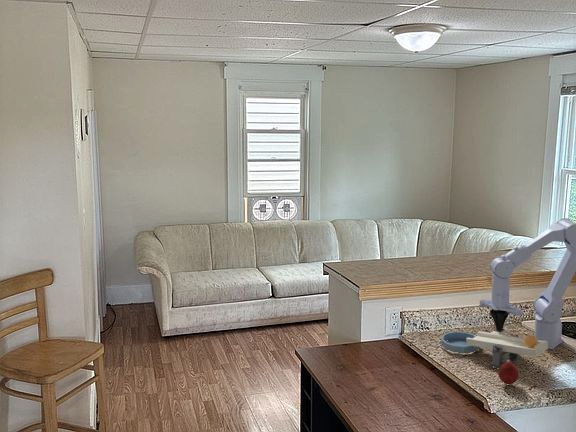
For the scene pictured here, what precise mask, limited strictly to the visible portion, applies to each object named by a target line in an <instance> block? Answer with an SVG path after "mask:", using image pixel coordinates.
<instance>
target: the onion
mask: <svg viewBox="0 0 576 432" xmlns="http://www.w3.org/2000/svg"><path fill="white" fill-rule="evenodd" d="M497 371H498V372H497V374H498V379H500V381H501V382H502V383H503V382H504V384H505V383H506V384H510V385H513V384H514V383H516V382H518V380H519V377H520V375H519V374H520V373H519V370H518V368H517V366H516V365H515V364H513V363H511V361H510V360H507V362H506V363H505V364H503V365H501V367H500V368H499V370H498V369H497ZM506 384H505V385H506Z"/></svg>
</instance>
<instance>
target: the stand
mask: <svg viewBox="0 0 576 432" xmlns="http://www.w3.org/2000/svg"><path fill="white" fill-rule="evenodd" d="M509 336H514V337H519V335H518V334H510V335H509ZM491 351H492V361H491V363H489V367H490V366H494V367H496V368H500V367H501V365H503V364H505V363H506V362H507V360H510V361H511V363H512V364H513V363H515V362H517V360H519V359H520V358H521V356H522V354H516V353H511V352H506V353H505V354H503V355H502V352H503V351H502V347H499V346H496V345H494V346H493V349H491Z"/></svg>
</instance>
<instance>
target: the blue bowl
mask: <svg viewBox="0 0 576 432" xmlns="http://www.w3.org/2000/svg"><path fill="white" fill-rule="evenodd" d="M476 336H477V335H475V334H473V333H469V332H466V331H456V330H455V331H449V332H448V331H447V332H446V333H444V334H442V335H441V339H440V342H441V343H440V344H441V345H442V346H443V347H444V348H445V349H447V350H450V351H453V352H458V353H469V352H474V351H476V350H478V351H479V348H478V347H477V346H471V345H467V341H466V338H474V337H476ZM447 340H448V341H447ZM446 341H447V342H449V343H447V342H446ZM450 343H452V344H450ZM441 345H440V346H441Z"/></svg>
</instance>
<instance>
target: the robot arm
mask: <svg viewBox="0 0 576 432" xmlns="http://www.w3.org/2000/svg"><path fill="white" fill-rule="evenodd" d="M552 242H556V243H557V242H560V243H564V245H565V247H566V251H565V253H564V255H563V256H562V258H561V261H560V262H559V264H558V267H557V269H556V270H555V272H554V274H553V277H552V279H551V281H550V282H549V284H548V286H547V288H546V289H545V290H543V291H541V292H540V294H539V296H537V298H535V299H534V301H533V302H532V307H533V310H534V311H535V316H534V317H535V318H534V319H535V322H534V337H536V339H537V340H540V341H546V342H548V349H547V350H553V349H555V348H556V347H558V346H559V345H560V344H562V343H563V342H564V341H565V340H564V338H562V334H563V333H562V331H563V330H562V329H563V327H562V326H563V324H562V323H563V322H562V320H561V317H562V315H563V313H562V311H563V310H562V309H563V307H564V299H563V298H564V295H565V293H566V291H567V289H568V287H569V285H570V283H571V281H572V279H573V278H574V275H575V273H576V222H575V221H572V220H571V219H569V218H565V217H564V218H560V219H558V220H557V221H555V222H553V223H552V224H550V226H549V227H548V228H547V229H545V230H544V231H543V232H542V233H540V234H539V235H538V236H536V237H535V238H533V239H532V240H531V241H529V242H528V243H526V244H525V245H524V244H523V245H522V244H520V245H514V246H513V247H512V249H511V250H510V251H508V252H506V253H505V254H502V255H500V256H501V257H496V258H494V259H492V261H491V263H490V264H489V269H490V270H491V272H492V275H491V276H492V277H491V299H490V300H489V299H484V298H482V299H480V300H479V306H481V307H486V308H490V309H491V310H489V314H490V315H491V318H492V320H493V322H494V325H495V330H499V331H500V330H502V329H503V328H504V327H505V326H504V325H505V322H506V320H507V318H508V317H509V315H510V314H514V315H515V316H517V317H519V316H522V313H523V312H522V311H523V310H522V309H523V308H520V307H516V306H514V305H512V304H510V289H511V288H510V285H511V283H510V280H511V279H510V277H511V276H512V274H513V272H514V271H515V269H517V268H518V267H520V266H521V265H523V264H525V263H526V262H528V261H530V259H531V258H532V254H533V253H535V252H537V251H538V250H541V249H542V248H544V247H546V246H547V245H549V244H551V243H552Z"/></svg>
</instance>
